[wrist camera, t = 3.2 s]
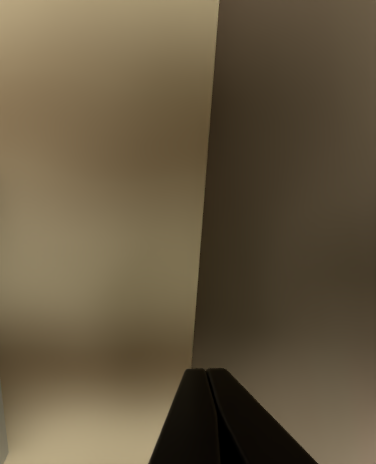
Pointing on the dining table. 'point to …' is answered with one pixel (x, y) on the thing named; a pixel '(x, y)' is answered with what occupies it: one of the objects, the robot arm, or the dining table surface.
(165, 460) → the robot arm
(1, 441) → the block
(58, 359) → the striped wooden cutting board
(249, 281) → the dining table surface
